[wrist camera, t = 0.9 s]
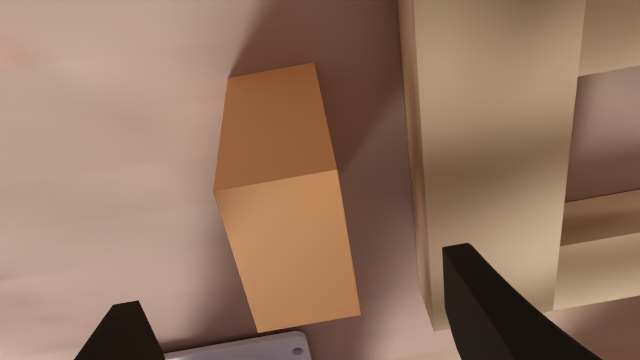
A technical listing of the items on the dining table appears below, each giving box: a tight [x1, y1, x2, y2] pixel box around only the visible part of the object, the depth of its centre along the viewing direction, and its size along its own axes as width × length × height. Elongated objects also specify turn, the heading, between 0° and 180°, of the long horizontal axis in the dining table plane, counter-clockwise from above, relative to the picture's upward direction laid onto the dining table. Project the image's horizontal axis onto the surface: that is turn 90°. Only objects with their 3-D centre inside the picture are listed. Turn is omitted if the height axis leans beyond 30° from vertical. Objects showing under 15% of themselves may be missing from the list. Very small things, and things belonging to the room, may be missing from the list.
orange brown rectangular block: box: [213, 62, 361, 333], centre depth 18 cm, size 5×3×7 cm, turn 9°
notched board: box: [397, 0, 640, 331], centre depth 20 cm, size 14×11×2 cm
